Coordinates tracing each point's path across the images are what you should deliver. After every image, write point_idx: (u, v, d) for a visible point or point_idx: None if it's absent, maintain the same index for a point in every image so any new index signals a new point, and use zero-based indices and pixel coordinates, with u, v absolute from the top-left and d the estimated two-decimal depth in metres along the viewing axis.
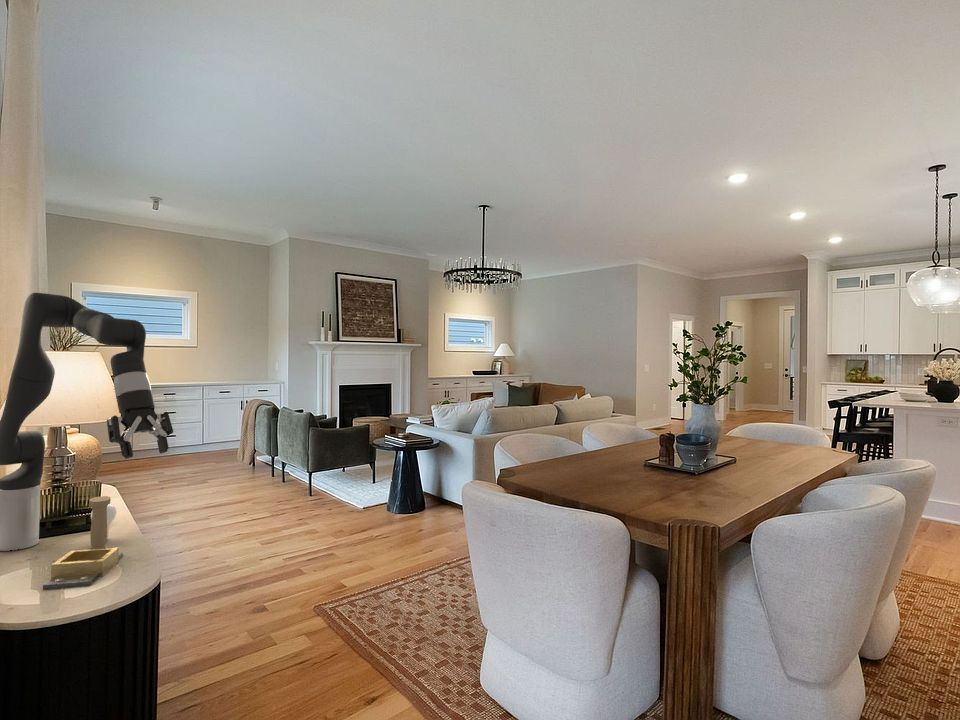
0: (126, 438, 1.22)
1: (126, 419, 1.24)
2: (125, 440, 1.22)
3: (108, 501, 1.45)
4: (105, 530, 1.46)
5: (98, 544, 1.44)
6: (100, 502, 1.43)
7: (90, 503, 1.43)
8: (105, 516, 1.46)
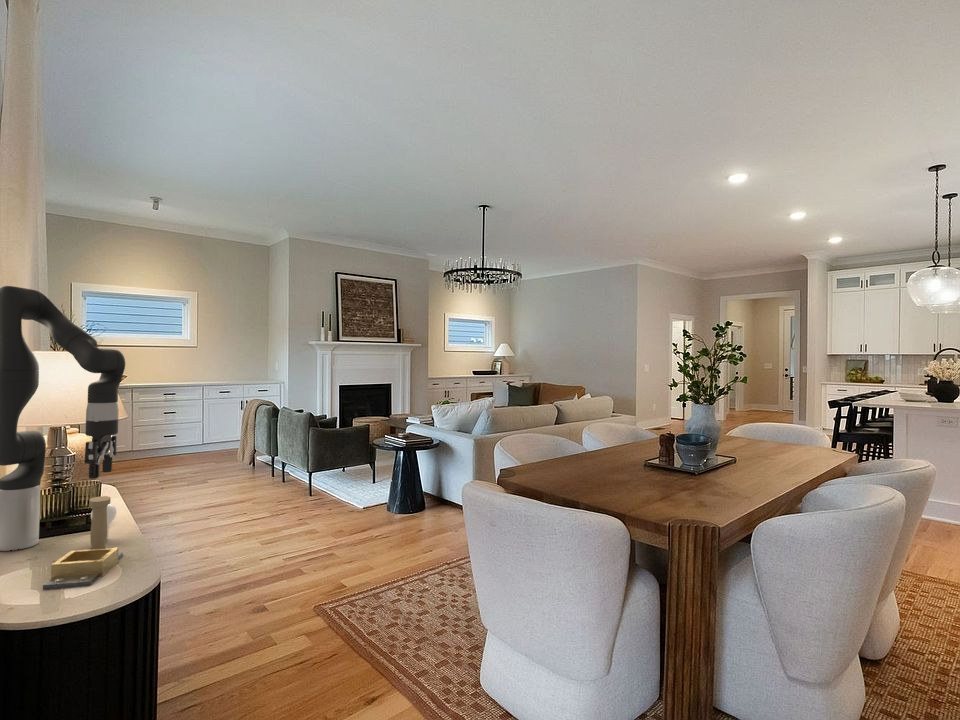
0: (98, 462, 1.42)
1: (100, 444, 1.43)
2: (97, 463, 1.42)
3: (108, 501, 1.45)
4: (105, 530, 1.46)
5: (98, 544, 1.44)
6: (100, 502, 1.43)
7: (90, 503, 1.43)
8: (105, 516, 1.46)
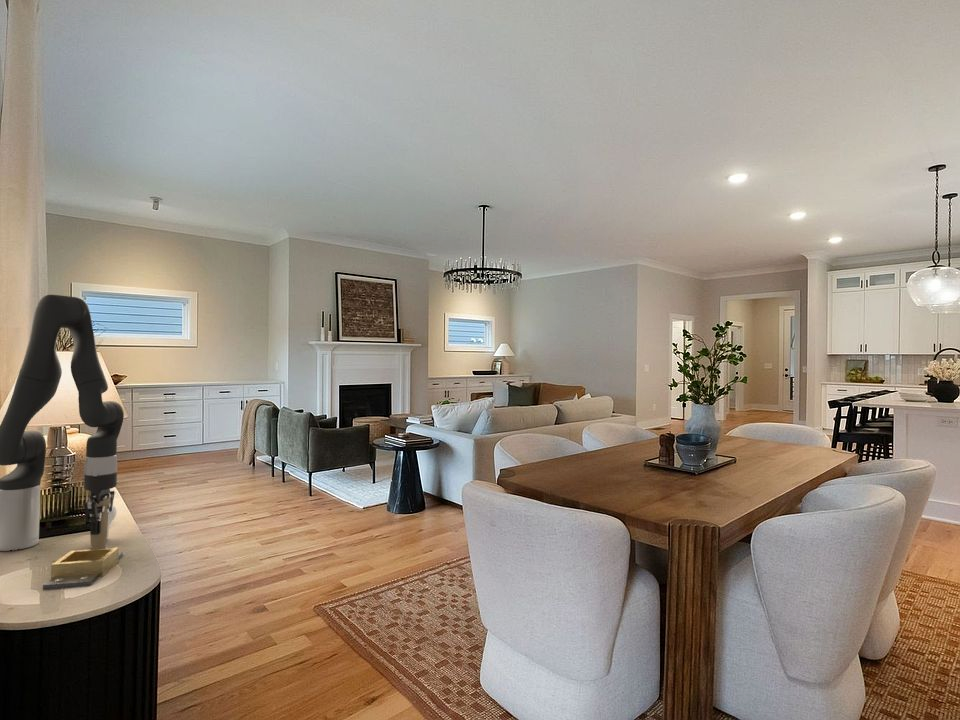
0: (100, 518, 1.44)
1: (98, 499, 1.43)
2: (99, 520, 1.43)
3: (108, 501, 1.45)
4: (105, 530, 1.46)
5: (98, 544, 1.44)
6: (100, 502, 1.43)
7: None
8: (105, 516, 1.46)
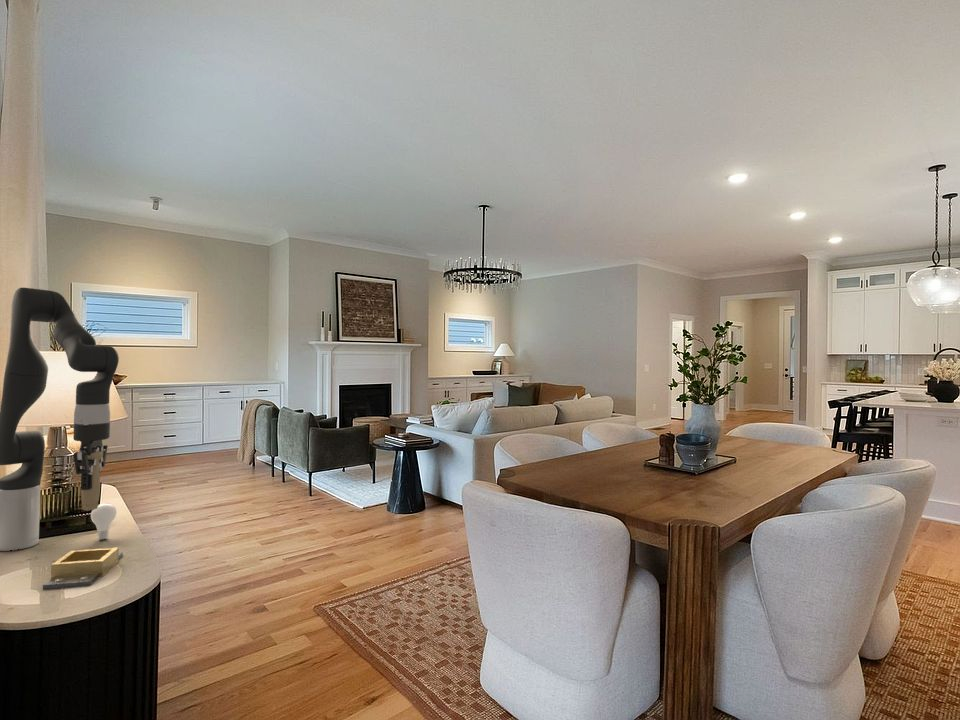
0: (91, 472, 1.31)
1: (90, 451, 1.30)
2: (90, 473, 1.30)
3: (101, 454, 1.33)
4: (97, 485, 1.33)
5: (89, 501, 1.31)
6: (92, 454, 1.31)
7: None
8: (97, 470, 1.33)
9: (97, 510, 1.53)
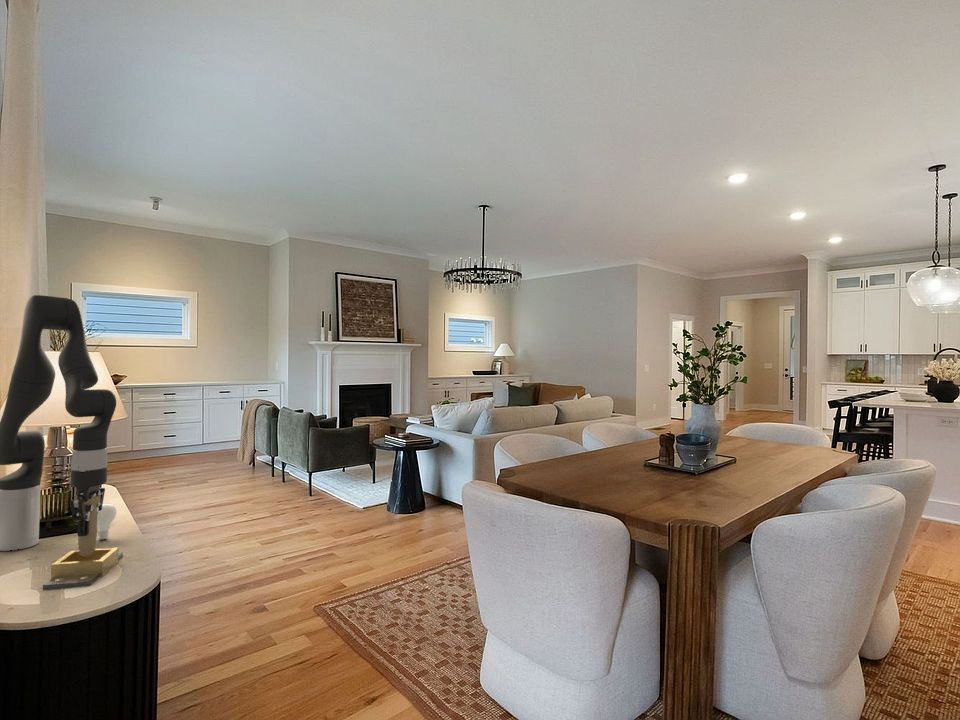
0: (88, 518, 1.30)
1: (86, 497, 1.29)
2: (87, 520, 1.30)
3: (98, 499, 1.32)
4: (94, 531, 1.32)
5: (86, 547, 1.31)
6: (89, 500, 1.30)
7: None
8: (94, 515, 1.32)
9: None
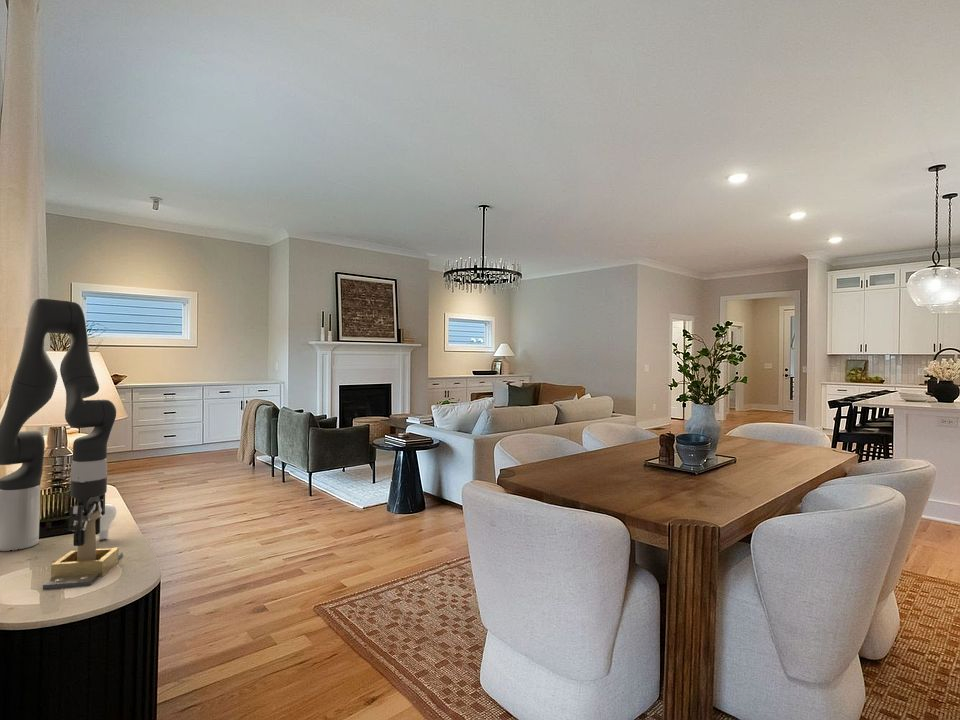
0: (84, 527, 1.28)
1: (86, 507, 1.29)
2: (83, 529, 1.28)
3: (96, 515, 1.32)
4: (93, 547, 1.32)
5: None
6: None
7: None
8: (93, 532, 1.32)
9: None
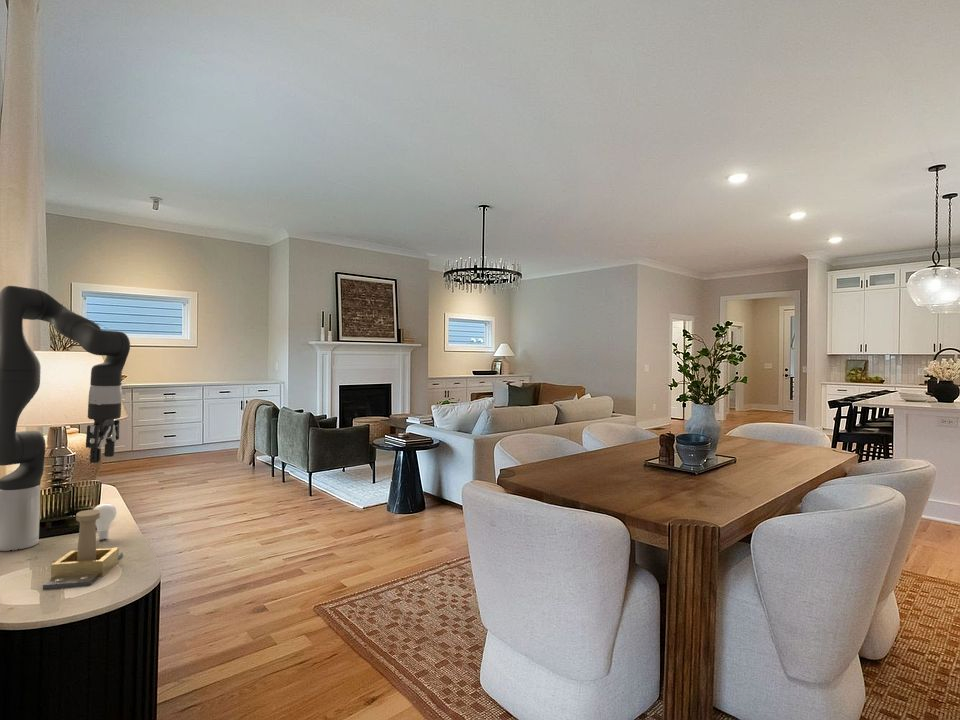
0: (100, 446, 1.39)
1: (102, 428, 1.40)
2: (99, 447, 1.39)
3: (97, 515, 1.32)
4: (94, 547, 1.32)
5: None
6: (88, 517, 1.30)
7: (77, 518, 1.30)
8: (94, 532, 1.32)
9: None
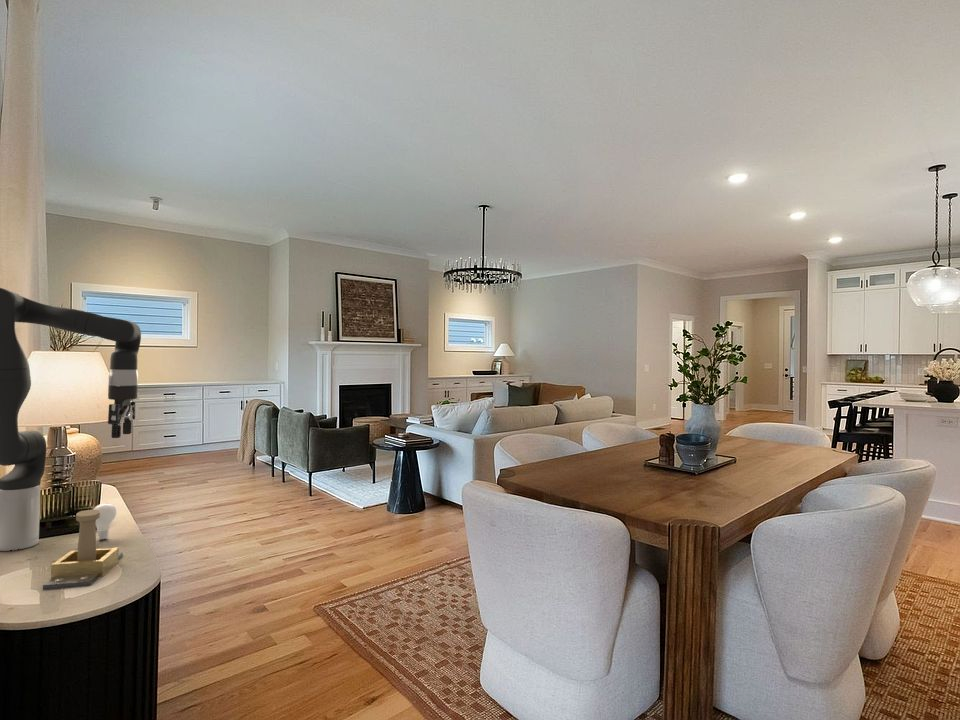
0: (120, 423, 1.55)
1: (121, 407, 1.56)
2: (119, 424, 1.55)
3: (97, 515, 1.32)
4: (94, 547, 1.32)
5: None
6: (88, 517, 1.30)
7: (77, 518, 1.30)
8: (94, 532, 1.32)
9: None
